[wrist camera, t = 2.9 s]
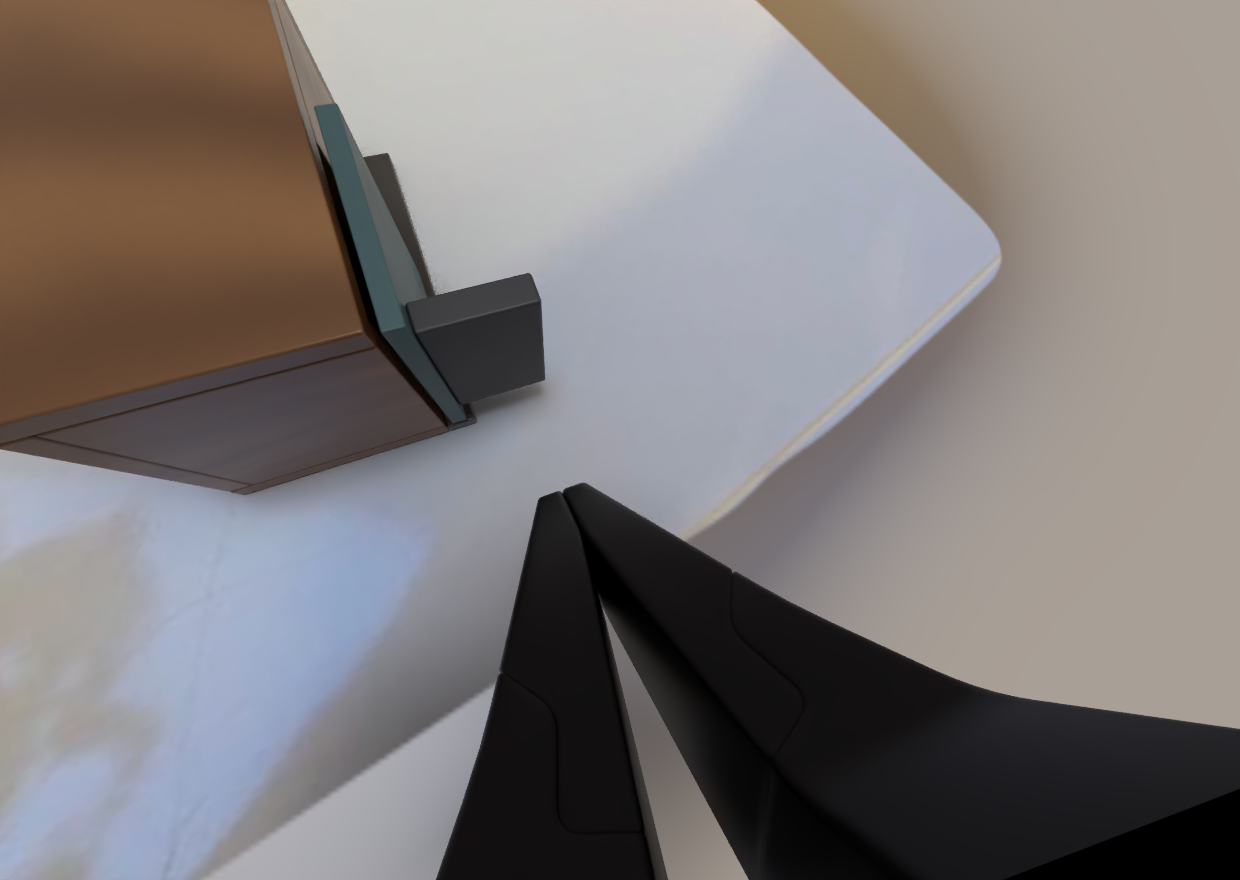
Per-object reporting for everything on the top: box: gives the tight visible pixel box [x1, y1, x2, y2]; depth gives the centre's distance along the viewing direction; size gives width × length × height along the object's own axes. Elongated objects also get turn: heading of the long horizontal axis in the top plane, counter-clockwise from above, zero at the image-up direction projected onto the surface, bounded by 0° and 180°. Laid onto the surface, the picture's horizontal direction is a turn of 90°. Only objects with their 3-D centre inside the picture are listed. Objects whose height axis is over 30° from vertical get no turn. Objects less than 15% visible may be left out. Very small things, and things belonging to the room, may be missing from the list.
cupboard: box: [0, 0, 477, 495], centre depth 15 cm, size 14×9×9 cm, turn 21°
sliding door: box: [314, 103, 545, 423], centre depth 16 cm, size 7×4×8 cm, turn 21°
